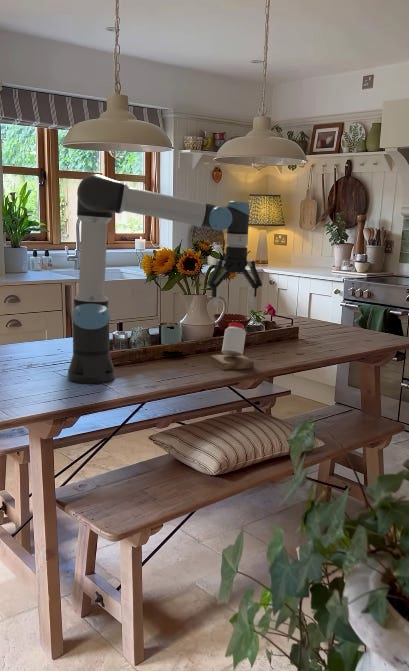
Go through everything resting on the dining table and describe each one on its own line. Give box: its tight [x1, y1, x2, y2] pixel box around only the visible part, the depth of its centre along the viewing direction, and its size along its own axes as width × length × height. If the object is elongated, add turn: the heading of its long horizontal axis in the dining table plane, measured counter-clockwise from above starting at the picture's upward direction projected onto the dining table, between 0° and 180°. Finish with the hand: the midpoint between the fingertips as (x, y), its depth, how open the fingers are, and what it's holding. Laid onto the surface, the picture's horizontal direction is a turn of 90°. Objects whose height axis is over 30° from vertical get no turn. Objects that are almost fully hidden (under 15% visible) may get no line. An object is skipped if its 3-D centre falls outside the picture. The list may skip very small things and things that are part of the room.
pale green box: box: [160, 324, 182, 345], centre depth 238 cm, size 8×8×10 cm
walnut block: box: [210, 354, 255, 371], centre depth 222 cm, size 12×12×3 cm
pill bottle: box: [221, 322, 247, 356], centre depth 223 cm, size 8×8×11 cm
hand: (233, 306), depth 218 cm, fingers open, 13 cm apart
